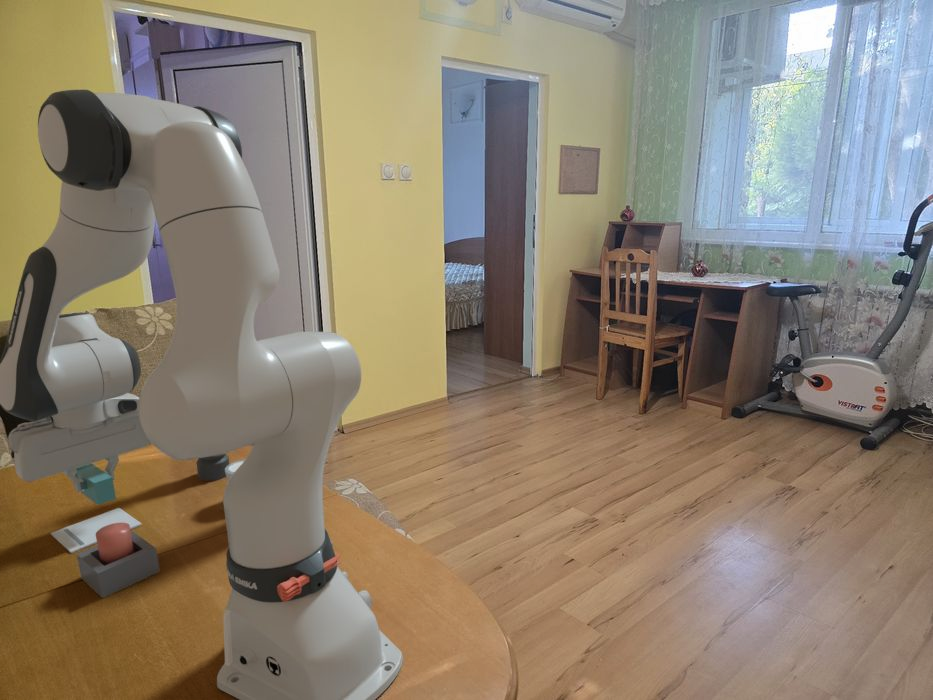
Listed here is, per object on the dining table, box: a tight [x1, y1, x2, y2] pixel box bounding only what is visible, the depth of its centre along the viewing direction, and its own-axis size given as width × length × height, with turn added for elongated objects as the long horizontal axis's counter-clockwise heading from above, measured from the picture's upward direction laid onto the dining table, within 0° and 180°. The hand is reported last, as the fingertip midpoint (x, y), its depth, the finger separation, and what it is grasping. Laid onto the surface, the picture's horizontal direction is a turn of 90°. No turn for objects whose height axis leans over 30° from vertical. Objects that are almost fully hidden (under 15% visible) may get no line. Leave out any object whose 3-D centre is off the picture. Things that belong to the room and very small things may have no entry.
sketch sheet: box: [50, 507, 143, 554], centre depth 103 cm, size 10×11×1 cm
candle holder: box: [195, 453, 230, 482], centre depth 121 cm, size 6×6×25 cm
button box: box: [76, 531, 160, 599], centre depth 90 cm, size 8×8×4 cm
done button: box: [96, 523, 134, 566], centre depth 89 cm, size 4×4×5 cm
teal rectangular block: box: [74, 463, 117, 506], centre depth 102 cm, size 9×3×4 cm, turn 51°
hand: (95, 485), depth 102 cm, fingers closed on teal rectangular block, 3 cm apart
